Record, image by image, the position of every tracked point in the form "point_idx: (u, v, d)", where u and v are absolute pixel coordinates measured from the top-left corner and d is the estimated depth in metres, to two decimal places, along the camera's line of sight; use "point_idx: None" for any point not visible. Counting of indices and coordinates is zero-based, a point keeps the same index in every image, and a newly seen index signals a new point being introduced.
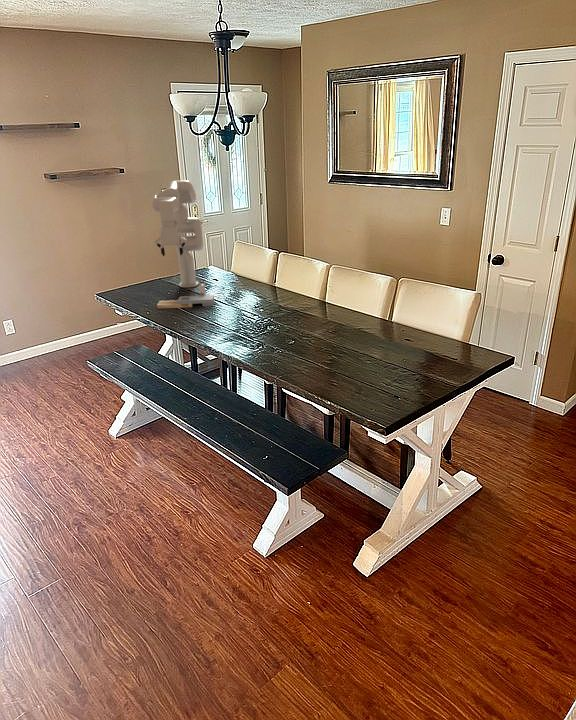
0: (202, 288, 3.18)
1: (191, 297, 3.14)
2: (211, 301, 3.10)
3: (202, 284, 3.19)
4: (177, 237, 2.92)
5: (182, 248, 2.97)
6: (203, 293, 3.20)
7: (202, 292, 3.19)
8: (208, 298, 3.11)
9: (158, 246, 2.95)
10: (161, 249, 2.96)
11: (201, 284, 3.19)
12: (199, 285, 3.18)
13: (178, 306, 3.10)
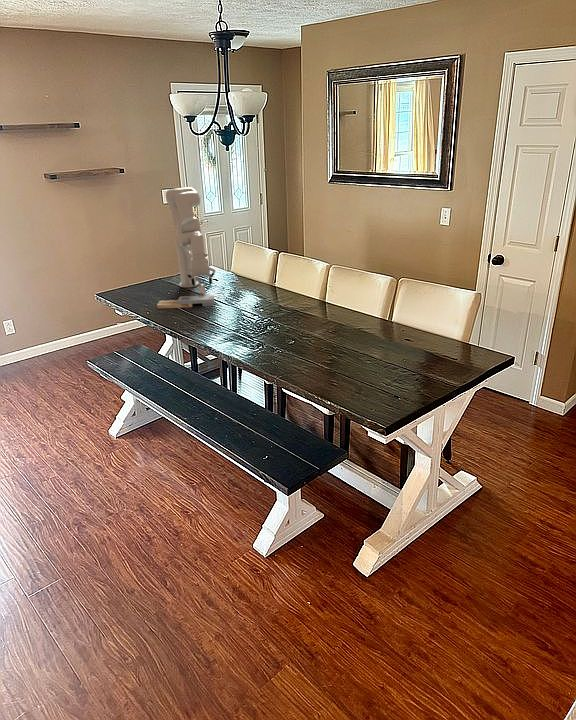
0: (202, 288, 3.18)
1: (191, 297, 3.14)
2: (211, 301, 3.10)
3: (202, 284, 3.19)
4: (207, 268, 3.12)
5: (211, 278, 3.17)
6: (203, 293, 3.20)
7: (202, 292, 3.19)
8: (208, 298, 3.11)
9: (189, 277, 3.15)
10: (191, 279, 3.16)
11: (201, 284, 3.19)
12: (199, 285, 3.18)
13: (178, 306, 3.10)
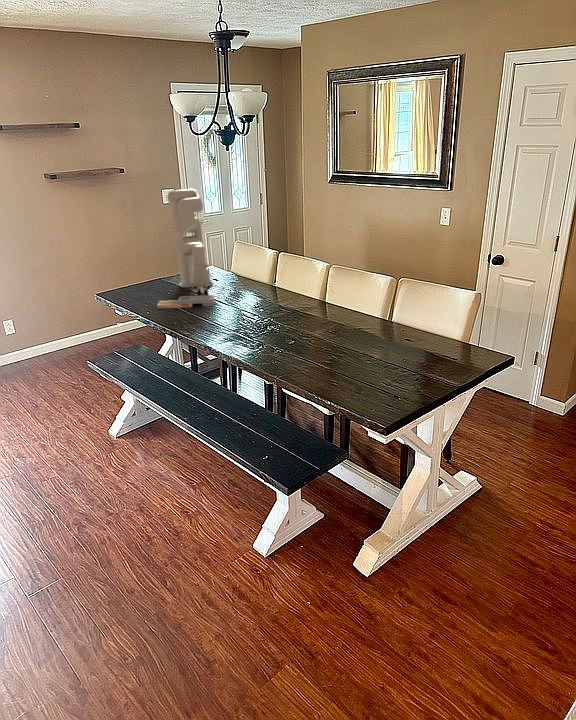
0: (202, 288, 3.18)
1: (191, 297, 3.14)
2: (211, 301, 3.10)
3: None
4: (208, 279, 3.15)
5: (207, 291, 3.21)
6: (203, 293, 3.20)
7: (202, 292, 3.19)
8: (208, 298, 3.11)
9: None
10: (198, 291, 3.20)
11: None
12: None
13: (178, 306, 3.10)
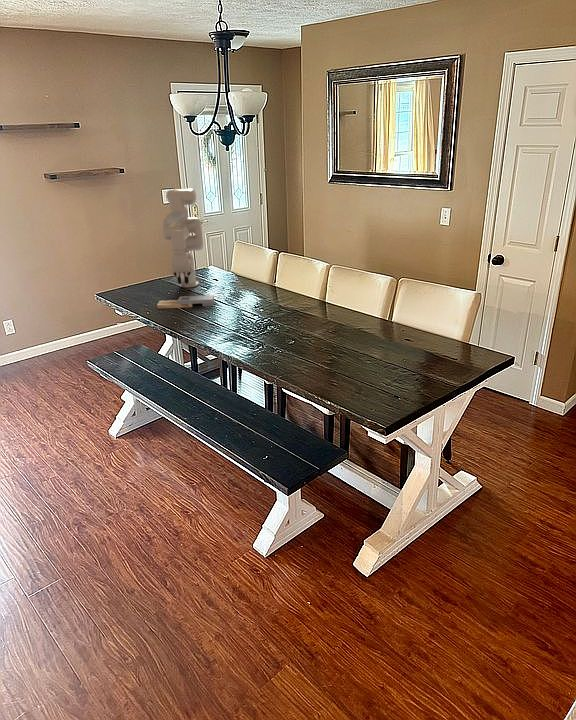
0: (182, 274, 3.05)
1: (191, 297, 3.14)
2: (211, 301, 3.10)
3: None
4: (188, 264, 3.02)
5: (188, 277, 3.07)
6: (183, 279, 3.06)
7: (182, 278, 3.06)
8: (208, 298, 3.11)
9: (175, 275, 3.06)
10: (178, 278, 3.07)
11: None
12: None
13: (178, 306, 3.10)
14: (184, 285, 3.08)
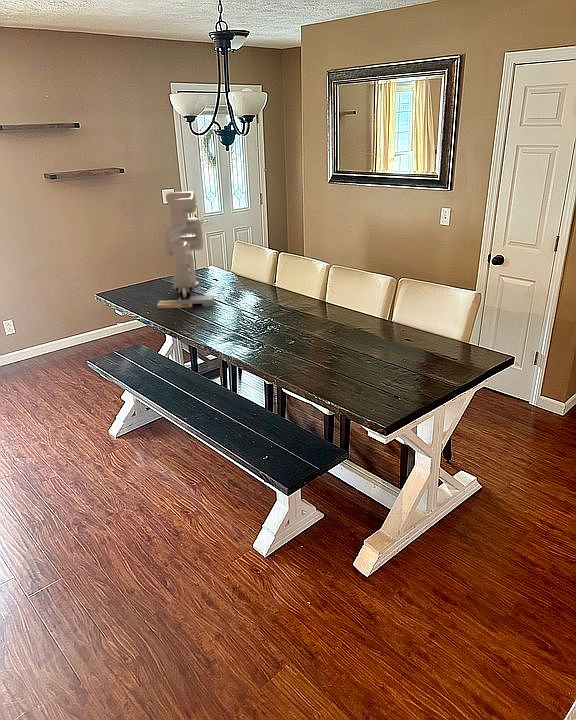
0: (184, 289, 3.09)
1: (191, 297, 3.14)
2: (211, 301, 3.10)
3: None
4: (190, 280, 3.06)
5: (189, 292, 3.11)
6: (185, 294, 3.10)
7: (184, 293, 3.10)
8: (208, 298, 3.11)
9: (177, 290, 3.10)
10: (179, 293, 3.10)
11: None
12: None
13: (178, 306, 3.10)
14: None
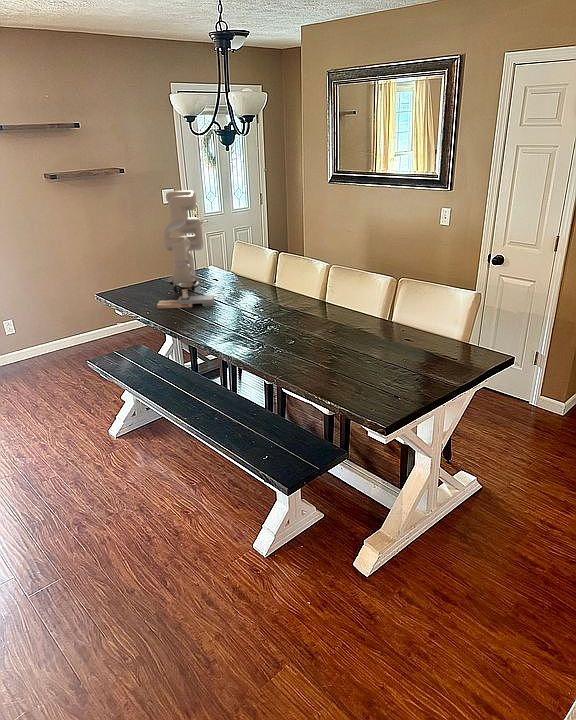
0: (185, 293, 3.10)
1: (191, 297, 3.14)
2: (211, 301, 3.10)
3: (185, 289, 3.11)
4: (189, 276, 3.06)
5: None
6: (186, 298, 3.12)
7: (185, 297, 3.11)
8: (208, 298, 3.11)
9: (171, 284, 3.09)
10: (174, 287, 3.09)
11: (184, 289, 3.11)
12: (182, 290, 3.10)
13: (178, 306, 3.10)
14: None
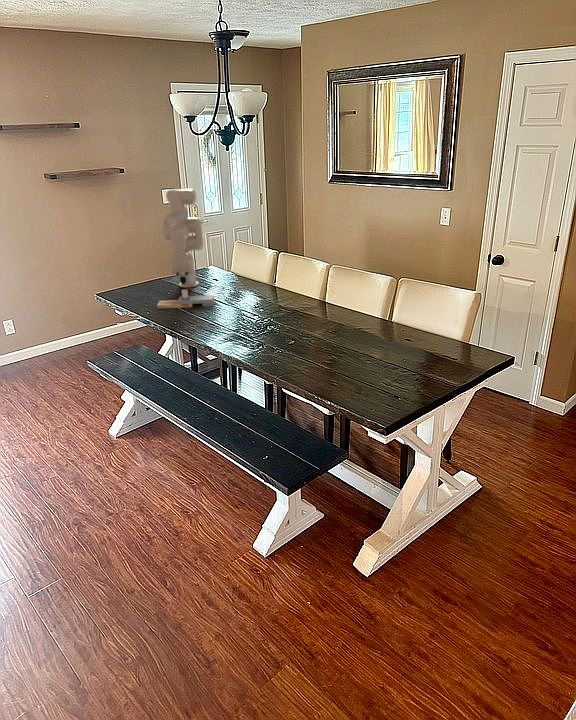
0: (185, 293, 3.10)
1: (191, 297, 3.14)
2: (211, 301, 3.10)
3: (185, 289, 3.11)
4: (188, 265, 3.03)
5: (185, 277, 3.08)
6: (186, 298, 3.11)
7: (185, 297, 3.11)
8: (208, 298, 3.11)
9: None
10: (180, 278, 3.07)
11: (184, 289, 3.11)
12: None
13: (178, 306, 3.10)
14: None
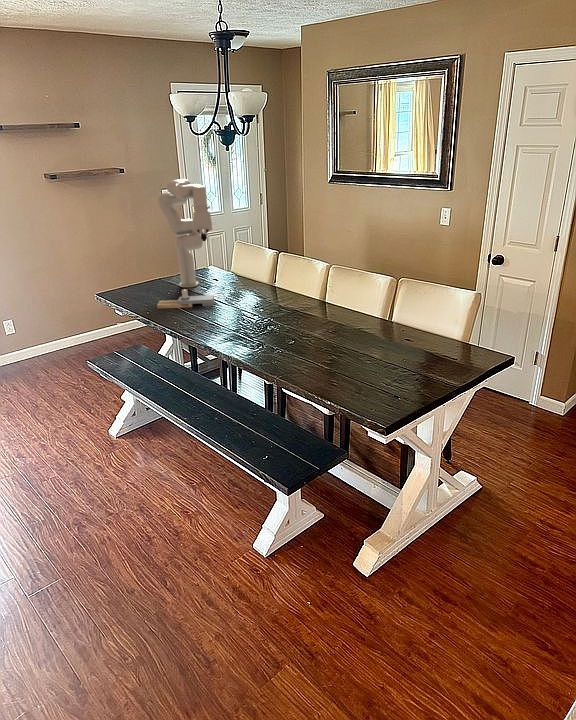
0: (185, 293, 3.10)
1: (191, 297, 3.14)
2: (211, 301, 3.10)
3: (185, 289, 3.11)
4: (209, 221, 3.09)
5: None
6: (186, 298, 3.12)
7: (185, 297, 3.11)
8: (208, 298, 3.11)
9: (198, 232, 3.13)
10: (201, 235, 3.14)
11: (184, 289, 3.11)
12: None
13: (178, 306, 3.10)
14: None
